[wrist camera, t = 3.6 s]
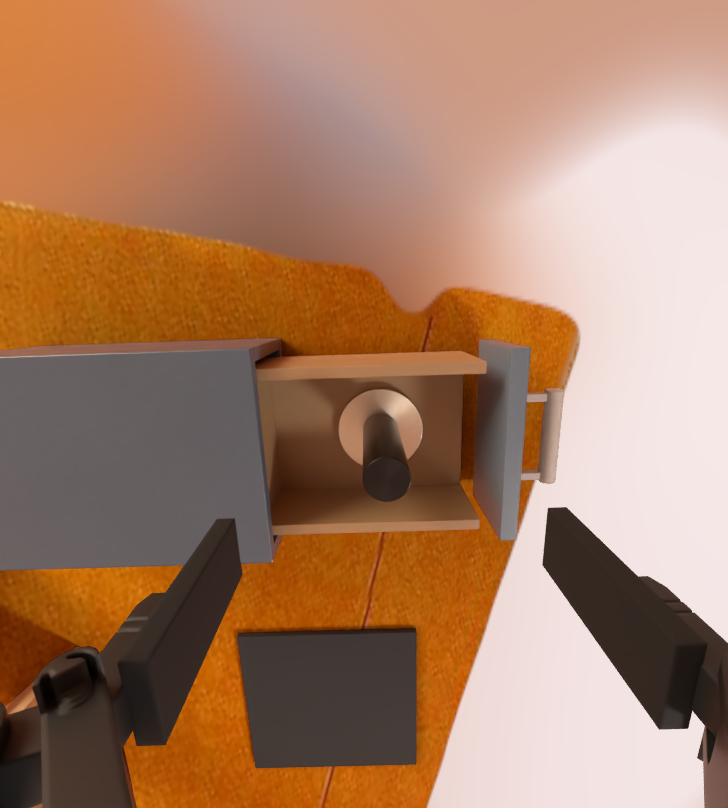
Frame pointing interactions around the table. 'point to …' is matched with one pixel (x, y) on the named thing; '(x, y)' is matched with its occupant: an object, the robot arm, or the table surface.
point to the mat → (331, 697)
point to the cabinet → (131, 452)
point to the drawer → (435, 456)
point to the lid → (381, 439)
